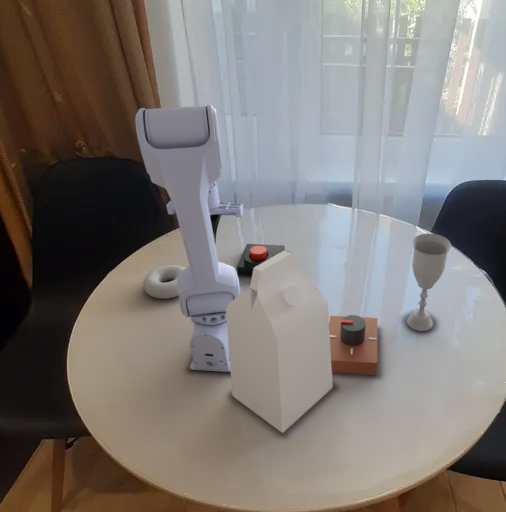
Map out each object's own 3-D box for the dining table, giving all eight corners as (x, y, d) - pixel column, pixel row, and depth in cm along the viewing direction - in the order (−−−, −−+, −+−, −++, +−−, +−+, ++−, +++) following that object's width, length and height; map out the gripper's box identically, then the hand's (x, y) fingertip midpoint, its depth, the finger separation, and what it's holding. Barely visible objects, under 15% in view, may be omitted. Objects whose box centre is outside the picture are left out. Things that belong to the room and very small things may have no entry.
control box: (277, 279, 107) (276, 263, 105) (237, 277, 108) (235, 261, 105) (284, 253, 116) (284, 238, 113) (247, 251, 116) (246, 237, 114)
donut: (183, 304, 100) (199, 275, 108) (180, 290, 98) (197, 263, 106) (137, 300, 100) (156, 272, 108) (133, 287, 98) (152, 260, 106)
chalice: (436, 337, 92) (451, 257, 82) (400, 331, 93) (410, 252, 83) (437, 313, 98) (451, 235, 87) (404, 308, 99) (413, 231, 88)
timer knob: (365, 330, 89) (366, 314, 87) (364, 346, 85) (365, 330, 83) (341, 329, 89) (341, 312, 87) (339, 345, 86) (339, 329, 83)
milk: (283, 356, 87) (274, 230, 72) (332, 387, 82) (334, 257, 66) (232, 395, 80) (210, 263, 65) (282, 433, 74) (271, 297, 59)
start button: (265, 261, 106) (264, 254, 105) (249, 260, 106) (248, 253, 105) (268, 252, 109) (267, 245, 108) (252, 251, 109) (251, 245, 108)
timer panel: (376, 375, 84) (377, 362, 82) (324, 372, 84) (324, 359, 83) (376, 330, 94) (377, 317, 92) (330, 327, 94) (330, 314, 92)
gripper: (243, 176, 94) (250, 237, 102) (170, 173, 95) (182, 234, 103) (235, 192, 88) (242, 255, 96) (157, 188, 89) (171, 251, 97)
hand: (211, 245), depth 99 cm, fingers closed
